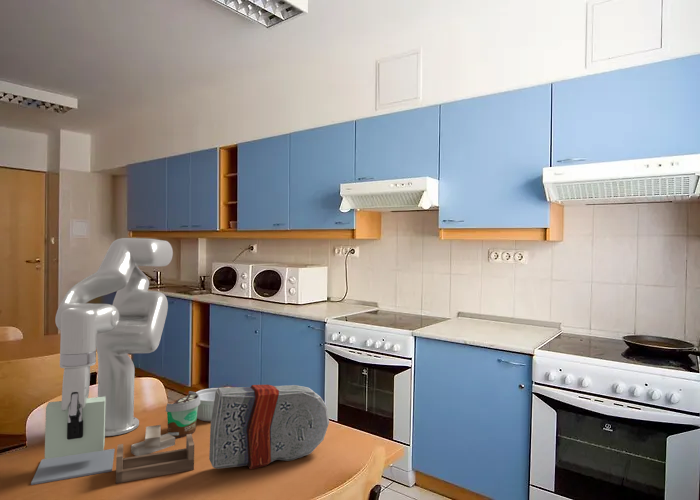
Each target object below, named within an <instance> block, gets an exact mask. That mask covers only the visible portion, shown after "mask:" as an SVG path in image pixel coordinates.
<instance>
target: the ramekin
mask: <svg viewBox="0 0 700 500" xmlns="http://www.w3.org/2000/svg"><path fill="white" fill-rule="evenodd" d="M218 388H219V387H211V388H205V389H200V390H198V391H196V392H195V393H197V394H198V395H199V397H200V402H201V403H200V404H199V405H198V410H197V419H198V420H199V421H204V422H211V419H212V412H213V406H214V400H215V393H216V390H217V389H218Z"/></svg>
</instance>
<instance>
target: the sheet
mask: <svg viewBox="0 0 700 500" xmlns="http://www.w3.org/2000/svg"><path fill="white" fill-rule="evenodd" d="M105 402H106V396H105V397H98V396H97V397H96V396H95V397H88V399H87V402H86V406H85V407H84V408H83V409H82V420H83V437H82V438H77V439H70V440H68V439H67V422H68V412H69V411H68V410H69V405H68V408H67V410H65V411H62V410H61V403H62V400H59V401H58V400H57V401H50V402H49V401H48V403H47V405H46V406H45V425H44V426H45V429H44V430H45V431H44V433H45V434H44V436H45V437H44V459H50V458H56V457H63V456H70V455H77V454H83V453H90V452H97V451H103V450H105V438H106V436H105ZM77 408H80V406H77ZM77 413H79V411H77Z"/></svg>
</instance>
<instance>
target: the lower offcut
mask: <svg viewBox="0 0 700 500" xmlns="http://www.w3.org/2000/svg"><path fill="white" fill-rule="evenodd" d="M175 445H176V438H175V437H174V436H172V435H170V434H168V432H167V433H165V434H160V447H153V448H146V449H145V440H143V441H139V442H136V443H134V444H131V445H130V446H131V448H130V453H131V454H132V455H134V456H140V455H147V454H153V453H157V452H159V451H162V450H164V449H168V448H170V447H173V446H175Z"/></svg>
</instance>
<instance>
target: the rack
mask: <svg viewBox="0 0 700 500" xmlns="http://www.w3.org/2000/svg"><path fill="white" fill-rule="evenodd" d="M185 438H186V439H185V440H186V441H185V443H186V444H185V445H186V446H185V448H178V449H173V450H168V451H167V450H166V451H161V452H159V451H158V452H153V453H150V454H147V455H140V456H135V455H134V456H129V457H124V443H120V444H117V447H116V457H115V458H116V460H115V461H116V462H115V484H121V483H127V482H132V481H137V480H143V479H149V478H154V477H160V476H165V475H171V474H178V473H183V472H188V471H193V470H195V442H194V439H193V434H187V435H186V436H185Z"/></svg>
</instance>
